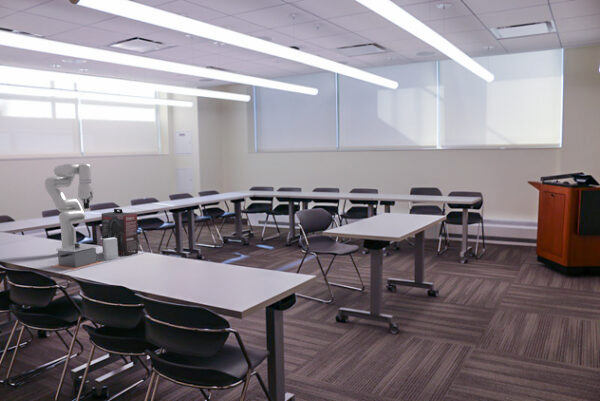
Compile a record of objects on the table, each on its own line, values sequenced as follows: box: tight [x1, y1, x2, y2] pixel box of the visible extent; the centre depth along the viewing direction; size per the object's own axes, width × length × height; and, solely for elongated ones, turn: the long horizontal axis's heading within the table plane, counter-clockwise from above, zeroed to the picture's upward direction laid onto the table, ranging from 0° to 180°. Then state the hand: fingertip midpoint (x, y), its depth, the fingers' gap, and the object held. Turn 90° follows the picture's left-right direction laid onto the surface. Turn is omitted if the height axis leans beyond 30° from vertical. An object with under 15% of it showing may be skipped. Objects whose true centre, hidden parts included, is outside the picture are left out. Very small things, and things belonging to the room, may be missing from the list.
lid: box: [55, 242, 99, 252], centre depth 312 cm, size 17×18×3 cm
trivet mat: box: [50, 260, 103, 271], centre depth 314 cm, size 21×24×1 cm
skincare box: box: [102, 237, 119, 261], centre depth 330 cm, size 8×6×15 cm
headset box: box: [100, 208, 139, 257], centre depth 349 cm, size 24×13×33 cm, turn 62°
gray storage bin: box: [57, 247, 97, 268], centre depth 313 cm, size 16×24×10 cm
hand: (86, 208), depth 330 cm, fingers closed
